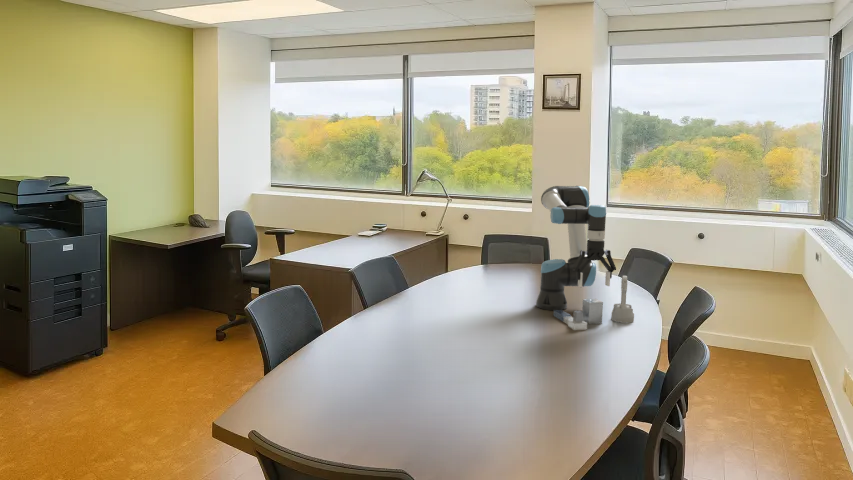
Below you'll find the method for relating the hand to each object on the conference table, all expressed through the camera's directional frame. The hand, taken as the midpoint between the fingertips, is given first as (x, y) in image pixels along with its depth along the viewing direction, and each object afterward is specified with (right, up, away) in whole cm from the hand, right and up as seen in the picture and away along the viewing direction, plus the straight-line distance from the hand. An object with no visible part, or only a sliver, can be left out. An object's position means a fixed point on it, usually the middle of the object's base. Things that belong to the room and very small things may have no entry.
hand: (593, 286), depth 297 cm
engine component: (+15, -16, +7) cm, 23 cm away
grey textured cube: (0, -16, +3) cm, 17 cm away
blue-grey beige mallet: (-11, -17, +1) cm, 20 cm away
